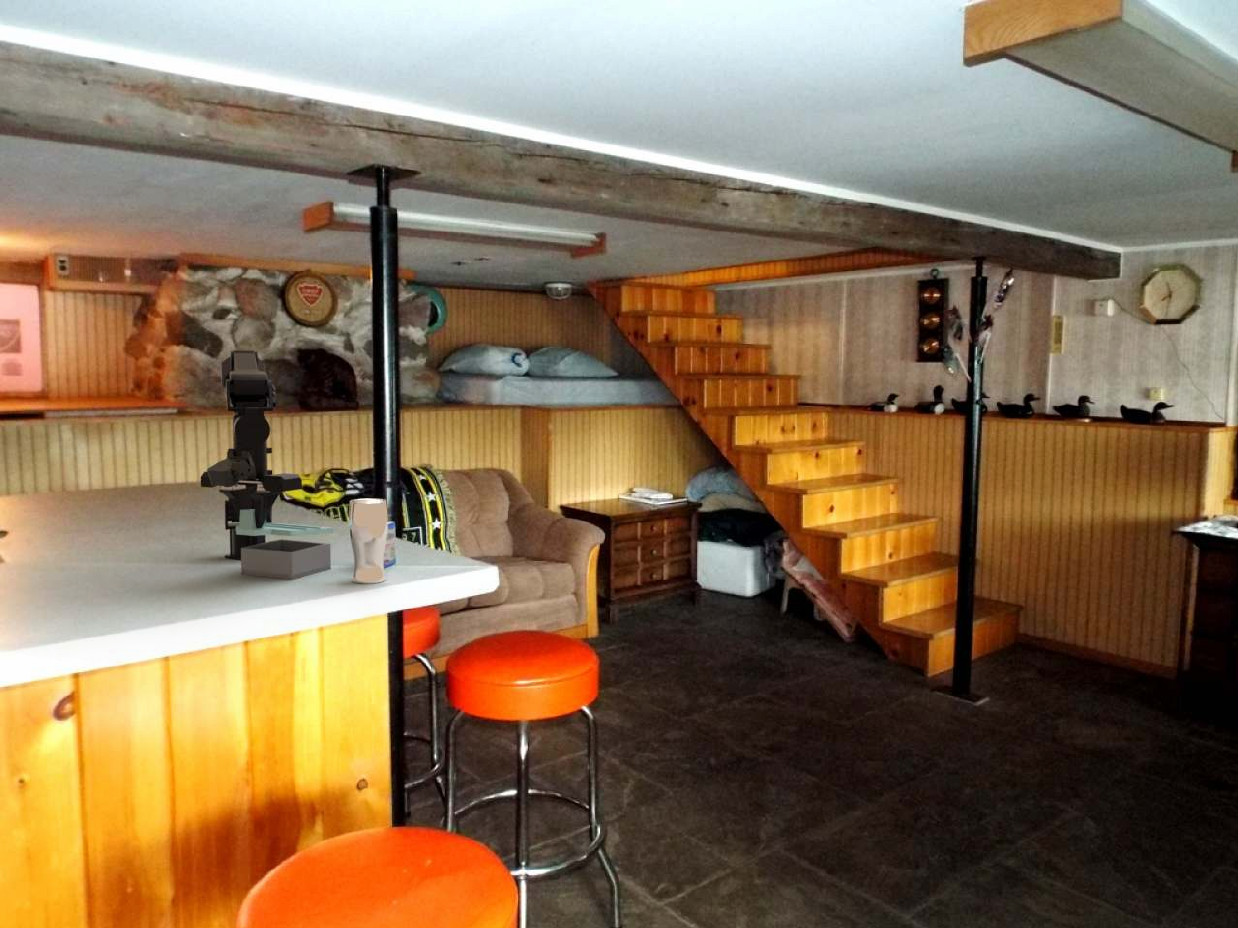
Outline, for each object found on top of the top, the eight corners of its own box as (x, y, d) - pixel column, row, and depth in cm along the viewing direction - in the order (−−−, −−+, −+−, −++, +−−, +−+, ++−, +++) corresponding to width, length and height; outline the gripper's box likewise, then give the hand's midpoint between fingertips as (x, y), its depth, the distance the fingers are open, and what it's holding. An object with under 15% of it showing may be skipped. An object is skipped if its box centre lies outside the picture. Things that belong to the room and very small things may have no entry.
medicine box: (378, 571, 180) (378, 527, 179) (357, 570, 181) (357, 526, 180) (396, 563, 187) (395, 521, 187) (376, 562, 188) (375, 520, 188)
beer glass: (353, 576, 175) (352, 498, 173) (391, 576, 175) (390, 498, 174) (346, 584, 168) (345, 503, 167) (384, 584, 169) (384, 503, 167)
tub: (241, 573, 175) (240, 548, 175) (281, 563, 186) (281, 538, 185) (292, 579, 171) (291, 553, 171) (330, 568, 181) (330, 543, 181)
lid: (217, 532, 170) (218, 508, 170) (279, 528, 185) (280, 505, 185) (273, 537, 165) (274, 512, 165) (333, 532, 181) (334, 510, 181)
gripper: (175, 443, 163) (177, 530, 165) (259, 447, 157) (261, 538, 158) (222, 439, 174) (224, 521, 175) (303, 443, 167) (304, 528, 169)
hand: (252, 527), depth 169 cm, fingers closed on lid, 3 cm apart
